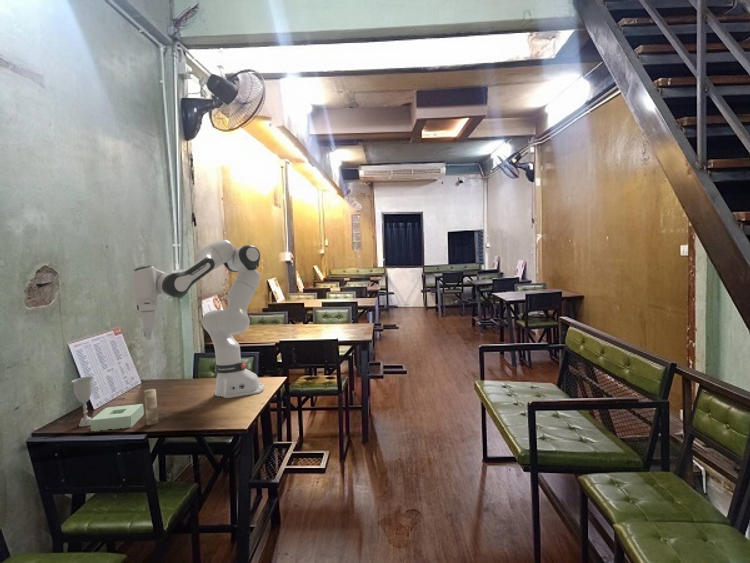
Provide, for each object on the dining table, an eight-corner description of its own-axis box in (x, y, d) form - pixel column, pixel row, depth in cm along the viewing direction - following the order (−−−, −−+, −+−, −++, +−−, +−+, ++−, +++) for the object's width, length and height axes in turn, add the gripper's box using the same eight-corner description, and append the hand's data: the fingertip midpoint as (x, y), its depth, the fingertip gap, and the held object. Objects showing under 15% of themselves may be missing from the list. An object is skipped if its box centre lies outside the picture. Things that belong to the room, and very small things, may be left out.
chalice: (82, 421, 174) (78, 377, 173) (100, 419, 175) (96, 376, 174) (71, 428, 167) (67, 382, 166) (90, 426, 168) (85, 381, 167)
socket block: (144, 414, 179) (143, 403, 178) (131, 427, 165) (130, 415, 165) (107, 418, 176) (106, 407, 176) (91, 431, 162) (90, 420, 162)
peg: (159, 420, 170) (157, 388, 170) (156, 424, 166) (153, 391, 166) (148, 421, 170) (146, 389, 169) (145, 425, 166) (142, 392, 165)
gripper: (135, 304, 184) (136, 336, 185) (139, 307, 167) (141, 342, 168) (151, 303, 188) (153, 334, 188) (157, 306, 171) (159, 340, 171)
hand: (147, 338), depth 178 cm, fingers open, 8 cm apart
